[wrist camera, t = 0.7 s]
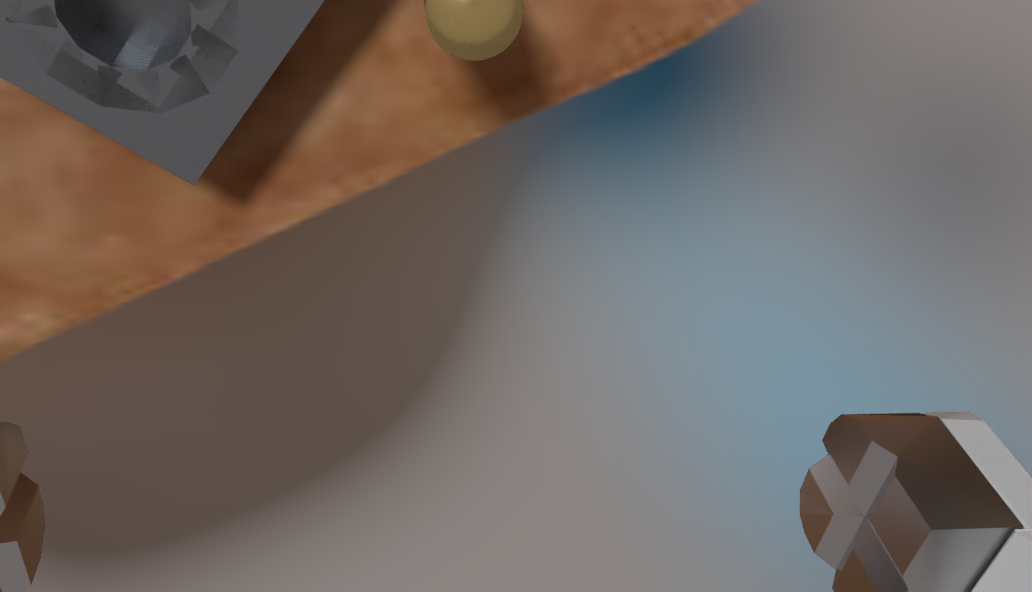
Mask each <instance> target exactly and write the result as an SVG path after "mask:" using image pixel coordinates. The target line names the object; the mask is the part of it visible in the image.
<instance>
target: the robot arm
mask: <svg viewBox="0 0 1032 592" xmlns="http://www.w3.org/2000/svg"><path fill="white" fill-rule="evenodd" d="M822 441H823V443H824V445H825V448H826V450H827V452H828V455H826V456H825V457H824V458H822V459H821V460H820V461H818V462H817V463H816V464H814V465H813V466H812V467H811V468H809V470H808V472H807V475H806V477H805V479H804V482H803V484H802V487H801V489H800V516H801V520H802V524H803V528H804V532H805V534H806V537H807V539H808V541H809V543H810V545H811V547H812V549H813V551H814V553H816V554H817V555H818V556H819V557H820V558H822V559H823V560H824V561H826V562H827V563H828V564H830V565H831V566H832V567H834V568H835V569H836V573H835V578H834V583H833V587H832V588H833V590H834V592H1032V478H1031V477H1030V475H1029V474H1028V473H1027V472H1026V471H1025V470H1024V468H1023V467H1022V466H1021V465H1020V463H1019V462H1018V461H1017V460H1016V459H1015V457H1013V455H1012V454H1011V453H1010V452H1009V450H1008V449H1007V448H1006V447H1005V445H1004V444H1003V443H1002V442H1001V441H1000V439H999V438H998V437H997V436H996V435H995V434H994V432H993V431H992V430H991V429H990V428H989V426H988V425H987V424H986V423H985V422H984V421H983V420H982V419H981V418H979V417H977V416H975V415H974V414H972V413H970V412H937V413H936V412H934V413H933V412H932V413H925V414H921V413H896V414H895V413H890V414H842V415H840V416H839V417H838V418H836V419H835V420H834V421H833V422H831V424H830V425H829V427H828V429H827V431H826V433H825V436H824V438H823V440H822ZM28 453H29V450H28V447H27V444H26V441H25V439H24V436H23V433H22V430H21V427H20V426H18V425H16V424H13V423H10V422H0V592H24V591H25V590H27V589H28V588H29V587H30V586H31V585H32V582H33V579H34V576H35V573H36V570H37V567H38V564H39V562H40V559H41V553H42V546H43V539H44V532H45V514H44V503H43V499H42V495H41V491H40V488H39V485H38V484H36V483H35V482H33V481H32V480H31V479H29V478H28V477H27V476H25V475H24V474H22V473H21V470H22V467H23V465H24V463H25V460H26V458H27V456H28Z"/></svg>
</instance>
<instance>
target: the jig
mask: <svg viewBox="0 0 1032 592" xmlns="http://www.w3.org/2000/svg"><path fill="white" fill-rule="evenodd" d="M324 1H325V0H0V77H2V78H4V79H6V80H7V81H9V82H11V83H13V84H15V85H16V86H18V87H20V88H22V89H23V90H25V91H27V92H29V93H31V94H32V95H34V96H36V97H38V98H39V99H41V100H43V101H45V102H47V103H48V104H50V105H52V106H54V107H55V108H57V109H59V110H61V111H63V112H64V113H66V114H68V115H70V116H71V117H73V118H75V119H77V120H79V121H80V122H82V123H84V124H86V125H87V126H89V127H91V128H93V129H95V130H96V131H98V132H100V133H102V134H103V135H105V136H107V137H109V138H111V139H112V140H114V141H116V142H118V143H119V144H121V145H123V146H125V147H127V148H128V149H130V150H132V151H134V152H135V153H137V154H139V155H141V156H143V157H144V158H146V159H148V160H150V161H151V162H153V163H155V164H157V165H159V166H160V167H162V168H164V169H166V170H167V171H169V172H171V173H173V174H175V175H176V176H178V177H180V178H182V179H183V180H185V181H187V182H189V183H191V184H192V185H194V184H195V183H196V182H197V180H198V179H199V177H200V176H201V175H202V173H203V172H204V170H205V169H206V167H207V166H208V165H209V163H210V162H211V160H212V159H213V158H214V156H215V155H216V153H217V152H218V151H219V149H220V148H221V146H222V145H223V143H224V142H225V141H226V139H227V138H228V136H229V135H230V134H231V132H232V131H233V129H234V128H235V126H236V125H237V124H238V122H239V121H240V119H241V118H242V117H243V115H244V114H245V112H246V111H247V110H248V108H249V107H250V105H251V104H252V102H253V101H254V100H255V98H256V97H257V95H258V94H259V93H260V91H261V90H262V88H263V87H264V85H265V84H266V83H267V81H268V80H269V78H270V77H271V76H272V74H273V73H274V71H275V70H276V69H277V67H278V66H279V64H280V63H281V61H282V60H283V59H284V57H285V56H286V54H287V53H288V52H289V50H290V49H291V47H292V46H293V44H294V43H295V42H296V40H297V39H298V37H299V36H300V35H301V33H302V32H303V30H304V29H305V28H306V26H307V25H308V23H309V22H310V20H311V19H312V18H313V16H314V15H315V13H316V12H317V11H318V9H319V8H320V6H321V5H322V3H323V2H324Z"/></svg>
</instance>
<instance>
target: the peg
mask: <svg viewBox="0 0 1032 592" xmlns="http://www.w3.org/2000/svg"><path fill="white" fill-rule="evenodd" d="M424 5H425V12H426V18H427V23H428V27H429V30H430V32H431V34H432V36H433V38H434V40H435V41H436V43H437V44H438V45H439V46H440V47H441V48H442V49H443V50H445V51H446V52H447V53H449V54H450V55H452V56H454V57H457V58H460V59H464V60H470V61H478V60H485V59H488V58H491V57H494V56H496V55H498V54H499V53H501V52H503V51H504V50H505V49H506V48H507V47H508V46H509V45H510V44H511V43H512V42H513V41H514V39H515V38H516V36H517V34H518V32H519V30H520V27H521V24H522V20H523V3H522V0H424Z"/></svg>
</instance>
